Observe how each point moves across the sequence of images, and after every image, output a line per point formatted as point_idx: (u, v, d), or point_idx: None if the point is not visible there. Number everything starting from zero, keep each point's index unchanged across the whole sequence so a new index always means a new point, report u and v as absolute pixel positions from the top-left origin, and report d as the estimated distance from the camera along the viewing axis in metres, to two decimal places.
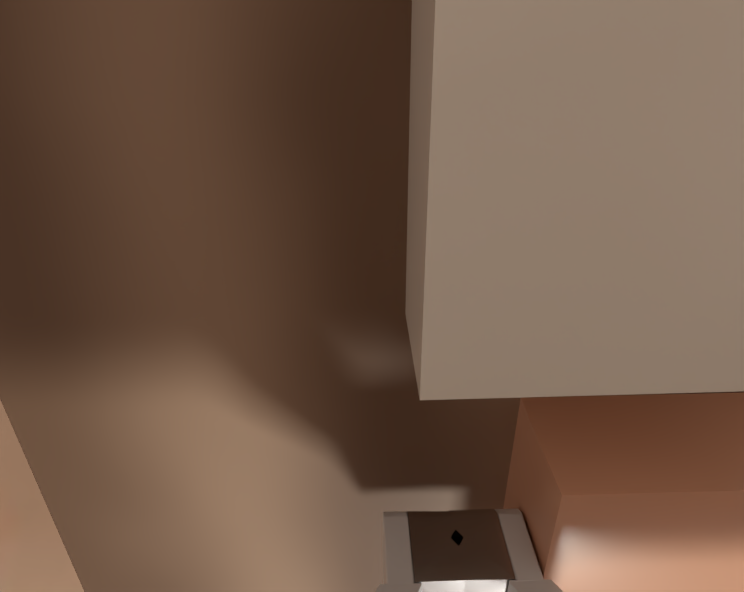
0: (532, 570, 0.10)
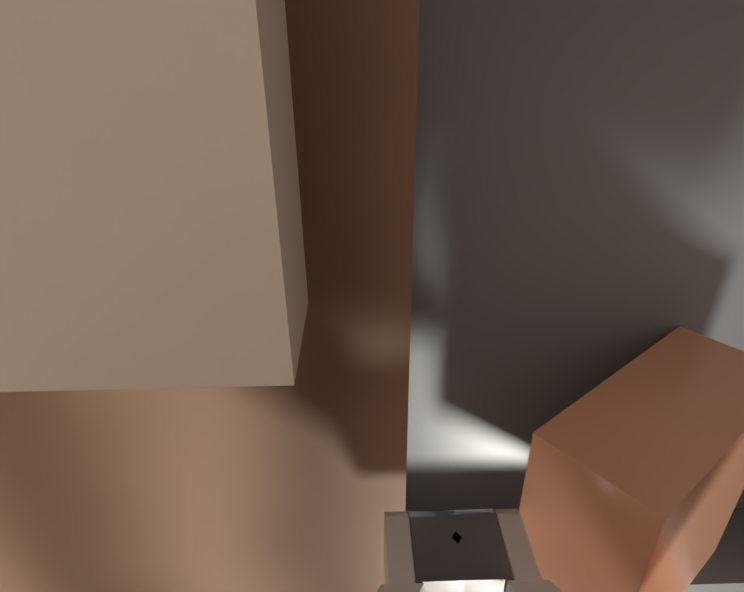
0: (530, 570, 0.10)
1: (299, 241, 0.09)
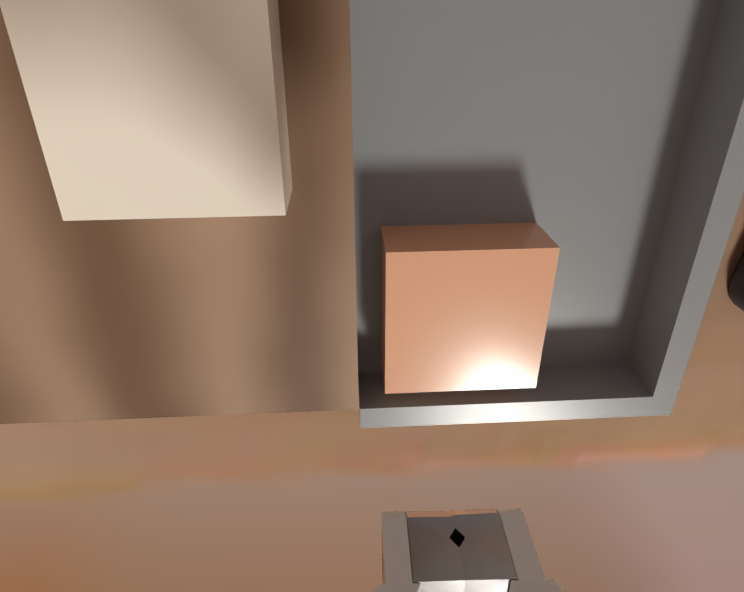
0: (534, 570, 0.10)
1: (287, 145, 0.16)
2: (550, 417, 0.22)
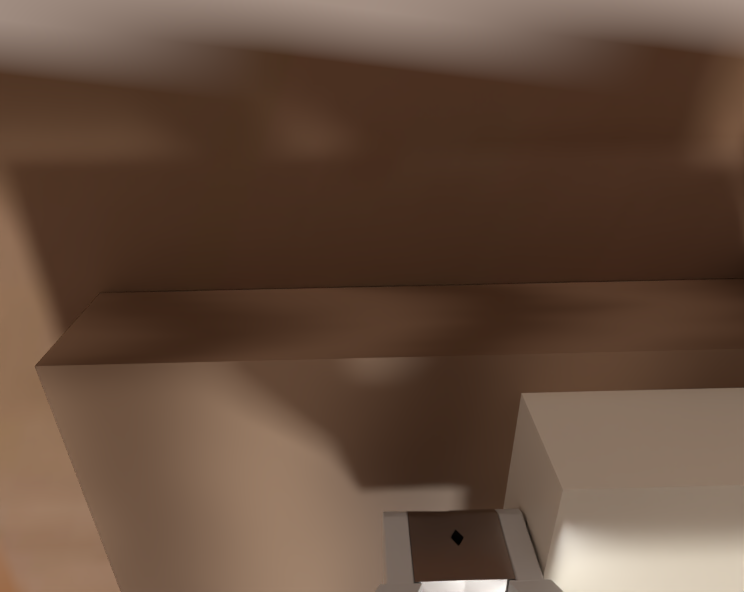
0: (532, 570, 0.10)
1: None
2: None
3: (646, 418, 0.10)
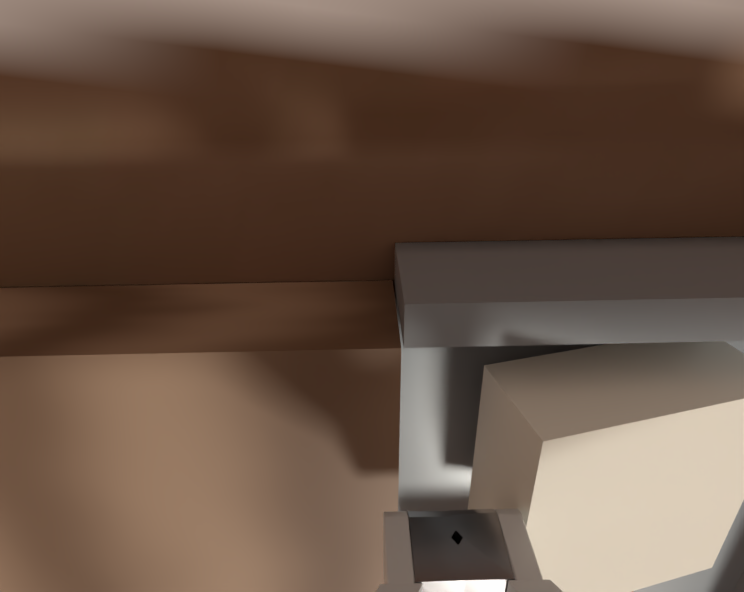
0: (531, 570, 0.10)
1: None
2: None
3: (591, 371, 0.12)
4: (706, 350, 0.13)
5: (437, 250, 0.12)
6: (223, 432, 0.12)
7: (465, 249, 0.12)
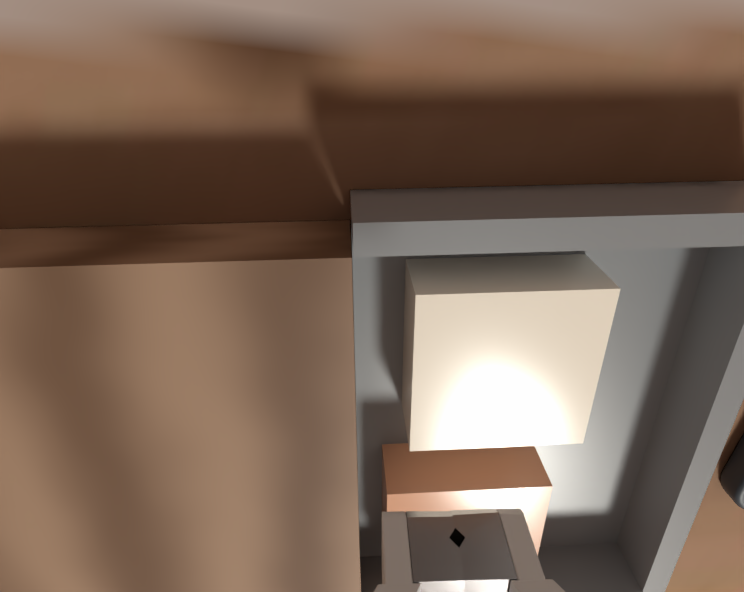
0: (534, 570, 0.10)
1: None
2: None
3: (477, 268, 0.17)
4: (574, 265, 0.17)
5: (381, 194, 0.16)
6: (221, 327, 0.15)
7: (402, 193, 0.16)
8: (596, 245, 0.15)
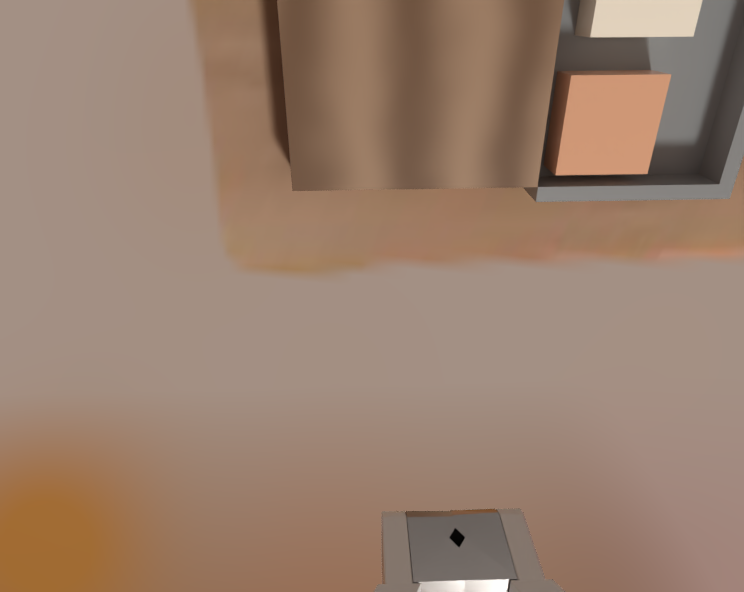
0: (534, 570, 0.10)
1: None
2: (653, 197, 0.35)
3: None
4: None
5: None
6: None
7: None
8: None
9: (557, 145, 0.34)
